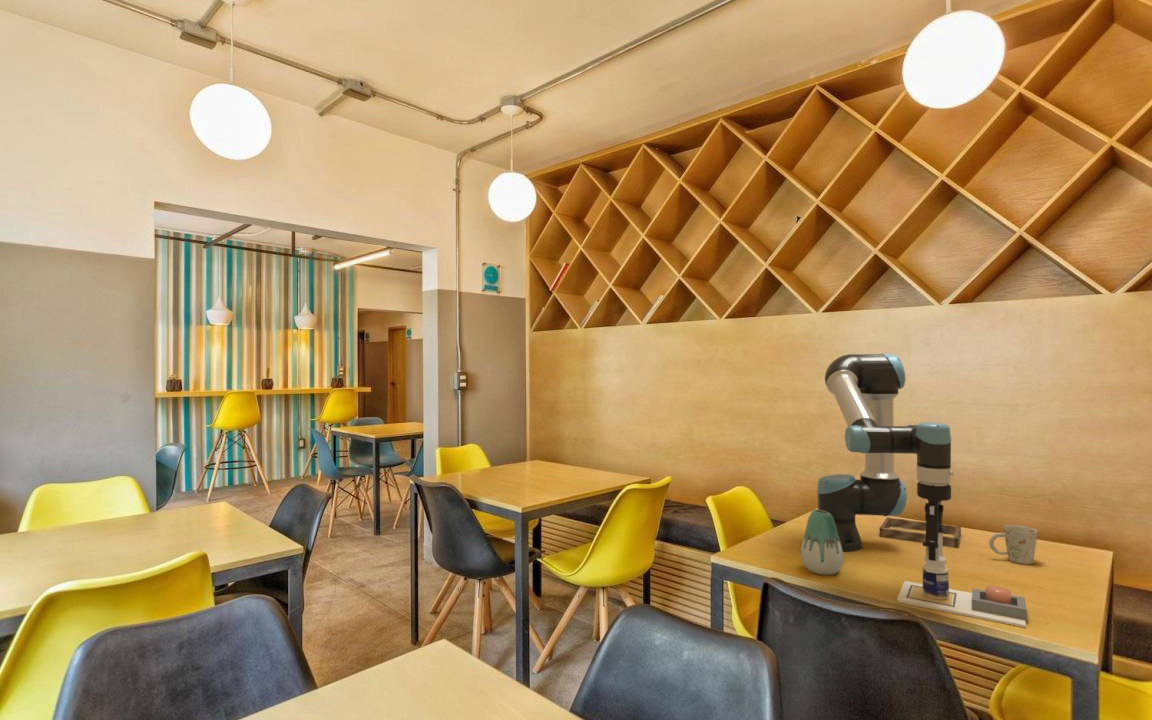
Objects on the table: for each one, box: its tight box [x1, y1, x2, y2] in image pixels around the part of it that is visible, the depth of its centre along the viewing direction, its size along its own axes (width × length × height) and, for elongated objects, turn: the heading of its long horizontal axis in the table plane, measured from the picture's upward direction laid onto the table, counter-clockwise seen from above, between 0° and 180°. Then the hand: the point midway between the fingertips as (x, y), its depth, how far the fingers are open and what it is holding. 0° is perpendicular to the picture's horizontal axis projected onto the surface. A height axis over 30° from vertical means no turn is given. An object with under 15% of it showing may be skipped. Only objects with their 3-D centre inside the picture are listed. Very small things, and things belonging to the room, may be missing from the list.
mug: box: [988, 524, 1038, 565], centre depth 178 cm, size 8×13×10 cm, turn 78°
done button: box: [985, 585, 1012, 605], centre depth 141 cm, size 5×5×3 cm
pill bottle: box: [922, 554, 950, 600], centre depth 149 cm, size 6×6×10 cm
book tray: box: [878, 516, 962, 549], centre depth 205 cm, size 23×18×3 cm
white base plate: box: [896, 580, 1028, 629], centre depth 146 cm, size 26×16×3 cm, turn 54°
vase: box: [800, 509, 844, 576], centre depth 170 cm, size 12×12×18 cm
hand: (934, 564), depth 149 cm, fingers open, 13 cm apart
